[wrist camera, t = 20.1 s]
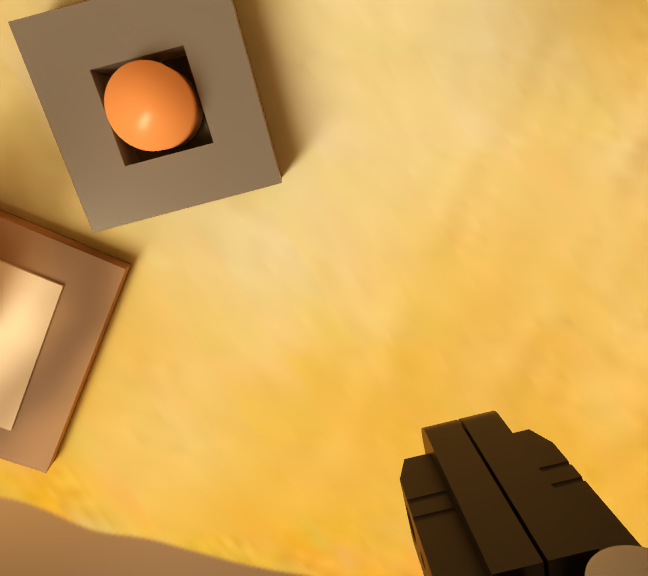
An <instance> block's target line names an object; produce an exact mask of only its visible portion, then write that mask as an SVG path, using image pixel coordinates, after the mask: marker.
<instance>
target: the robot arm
mask: <svg viewBox="0 0 648 576" xmlns="http://www.w3.org/2000/svg"><path fill="white" fill-rule="evenodd" d="M422 438H423V443H424V448H425V455H420V456H416V457H412V458H408V459H404V464H403V468H402V472H401V477H400V482H401V486H402V491H403V496H404V501H405V505H406V510H407V515H408V519H409V524H410V529H411V534H412V538H413V542H414V545H415V548H416V551H417V555H418V558H419V561H420V563H421V567H422V571H423V574H424V576H648V548H645V547H642V546H641V545H640V544H639V543H638V542H637V541H636V539H635V538H634V537H633V536H632V535H631V534H630V532H629V531H628V530H627V529H626V528H625V527H624V525H623V524H622V523H621V522H620V521H619V520H618V518H617V517H616V516H615V515H614V514H613V513H612V511H611V510H610V509H609V508H608V507H607V506H606V504H605V503H604V502H603V501H602V500H601V499H600V497H599V496H598V495H597V494H596V493H595V492H594V490H593V489H592V488H591V487H590V486H589V485H588V483H587V482H586V481H583V479H582V476H581V475H580V474H579V473H578V472H577V471H576V469H575V468H574V467H573V466H572V465H570V464H569V462H568V460H567V459H566V458H565V456H564V455H563V454H562V453H561V452H560V451H559V449H558V448H557V447H556V446H555V445H554V444H553V442H551V441H549V440H547V439H545V438H544V437H542V436H540V435H538V434H536V433H535V432H533V431H531V430H529V429H528V430H524V431H520V432H516V433H512V432H511V430H510V429H509V428H508V426H507V425H506V424H505V422H504V421H503V420H502V418H501V417H500V416H499V414H498V413H497V412H496V411H491V412H486V413H482V414H478V415H474V416H470V417H465V418H461V419H459V420H454V421H449V422H445V423H441V424H437V425H433V426H428V427H424V428H422Z"/></svg>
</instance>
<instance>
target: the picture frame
mask: <svg viewBox="0 0 648 576" xmlns="http://www.w3.org/2000/svg"><path fill="white" fill-rule="evenodd" d="M130 266H131V264H129V263H127V262H124V261H122V260H120V259H117V258H115V257H112V256H110V255H108V254H105V253H103V252H100V251H98V250H96V249H93V248H91V247H88V246H86V245H84V244H81V243H79V242H76V241H74V240H72V239H69V238H67V237H64V236H62V235H60V234H57V233H55V232H52V231H50V230H48V229H45V228H43V227H40V226H38V225H36V224H33V223H31V222H28V221H26V220H24V219H21V218H19V217H16V216H14V215H12V214H9V213H7V212H4V211H2V210H0V458H1V459H4V460H7V461H10V462H13V463H16V464H19V465H23V466H26V467H29V468H32V469H35V470H38V471H41V472H44V473H46V472H47V471H48V470H49V468H50V467H51V465H52V464H53V462H54V460H55V457H56V455H57V452H58V450H59V447H60V444H61V442H62V439H63V437H64V434H65V432H66V429H67V427H68V424H69V422H70V419H71V416H72V414H73V411H74V409H75V406H76V404H77V401H78V399H79V396H80V393H81V391H82V388H83V386H84V383H85V381H86V378H87V376H88V373H89V371H90V368H91V365H92V363H93V360H94V358H95V355H96V353H97V350H98V348H99V345H100V342H101V340H102V337H103V335H104V332H105V330H106V327H107V325H108V322H109V320H110V317H111V314H112V312H113V309H114V307H115V304H116V302H117V299H118V297H119V294H120V291H121V289H122V286H123V284H124V281H125V279H126V276H127V274H128V271H129V269H130Z"/></svg>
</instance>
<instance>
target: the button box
mask: <svg viewBox="0 0 648 576" xmlns="http://www.w3.org/2000/svg"><path fill="white" fill-rule="evenodd" d="M8 23H9V25H10V28H11V30H12V33H13V35H14V38H15V40H16V43H17V45H18V48H19V50H20V53H21V55H22V58H23V60H24V62H25V65H26V67H27V70H28V72H29V75H30V77H31V80H32V82H33V85H34V87H35V90H36V92H37V95H38V97H39V100H40V102H41V105H42V107H43V110H44V112H45V115H46V117H47V120H48V122H49V125H50V127H51V130H52V132H53V135H54V137H55V140H56V142H57V145H58V147H59V150H60V152H61V155H62V157H63V159H64V162H65V164H66V167H67V169H68V172H69V174H70V177H71V179H72V182H73V184H74V187H75V189H76V192H77V194H78V197H79V199H80V202H81V204H82V207H83V209H84V212H85V214H86V217H87V219H88V222H89V224H90V227H91V229H92V232H93V233H94V232H98V231H102V230H105V229H109V228H113V227H117V226H121V225H124V224H128V223H132V222H136V221H139V220H143V219H147V218H151V217H155V216H158V215H162V214H166V213H170V212H173V211H177V210H181V209H185V208H189V207H192V206H196V205H200V204H204V203H207V202H211V201H215V200H219V199H223V198H226V197H230V196H234V195H238V194H241V193H245V192H249V191H253V190H257V189H260V188H264V187H268V186H272V185H275V184H279V183H282V177H281V174H280V170H279V166H278V163H277V159H276V155H275V152H274V148H273V144H272V141H271V137H270V133H269V130H268V126H267V122H266V119H265V115H264V111H263V108H262V104H261V100H260V97H259V93H258V89H257V86H256V82H255V78H254V75H253V71H252V67H251V64H250V60H249V56H248V53H247V49H246V45H245V42H244V38H243V34H242V31H241V27H240V23H239V20H238V16H237V12H236V9H235V5H234V1H233V0H89V1H85V2H81V3H78V4H74V5H70V6H66V7H63V8H59V9H55V10H51V11H48V12H44V13H40V14H36V15H33V16H29V17H25V18H21V19H17V20H14V21H10V22H8ZM185 55H187V58H188V61H189V65H190V68H191V71H192V74H193V78H194V81H195V84H196V87H197V91H198V94H199V97H200V100H201V104H202V107H203V110H204V113H205V117H206V120H207V123H208V126H209V130H210V133H211V136H212V139H213V143H211V144H207V145H204V146H200V147H196V148H192V149H189V150H185V151H181V152H177V153H173V154H170V155H166V156H162V157H158V158H155V159H151V160H147V161H143V162H139V159H138V157H137V154H136V151H135V148H134V147H133V146H131V145H129V144H128V143H126V142H125V141H124V140H123V139H121V138H120V137H119V136H118V135H117V134H116V132H115V131H114V130H113V128H112V127H111V125H110V123H109V121H108V118H107V115H106V112H105V106H104V96H105V90H106V87H107V84H108V82H109V80H110V78H109V76H110V75H113V74H114V73H115V72H116V71H117V70H118V69H119V68H120V67H122V66H123V65H125V64H127V63H130V62H132V61H137V60H151V61H155V62H158V63H159V62H162V61H166V60H170V59H174V58H178V57H181V56H185Z"/></svg>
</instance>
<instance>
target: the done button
mask: <svg viewBox="0 0 648 576" xmlns="http://www.w3.org/2000/svg"><path fill="white" fill-rule="evenodd" d="M104 106H105V112H106V115H107V118H108V121H109V123H110V125H111V127H112V128H113V130H114V131H115V132H116V134H117V135H118V136H119V137H120V138H121V139H123V140H124V141H125V142H126V143H128V144H129V145H131V146H133V147H135V148H138V149H141V150H146V151H160V150H166V149H171V148H177V147H179V146H182V145H184V144H186V143H187V142H189V141H190V140H191V139H192V138H193V137H194V136H195V135H196V133H197V131H198V130H199V127H200V125H201V122H202V116H203V109H202V104H201V100H200V97H199V94H198V92H197V90H196V88H195V87H194V85H193V84H192V83H191V82H190V81H189V80H188V79H187V78H186V77H185V76H183V75H182V74H180V73H178V72H176V71H175V70H173V69H171V68H169V67H167V66H165V65H163V64H161V63H158V62H155V61H151V60H137V61H132V62H130V63H127V64H125V65H123V66H122V67H120V68H119V69H118V70H117V71H116V72H115V73H114V74H113V75H112V77H111V78H110V80H109V82H108V84H107V87H106V90H105V96H104Z"/></svg>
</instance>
